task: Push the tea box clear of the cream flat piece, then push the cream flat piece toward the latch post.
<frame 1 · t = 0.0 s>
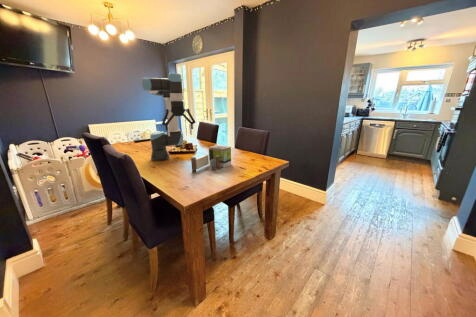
hand: (180, 135, 123), 28 cm above the table, fingers open, 13 cm apart
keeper: (213, 170, 141), on the table
cream flat piece: (202, 161, 144), point 5 cm above the table, hinge at 38.0°
hinge post: (194, 172, 137), on the table
latch post: (218, 168, 144), on the table
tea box: (220, 164, 153), on the table
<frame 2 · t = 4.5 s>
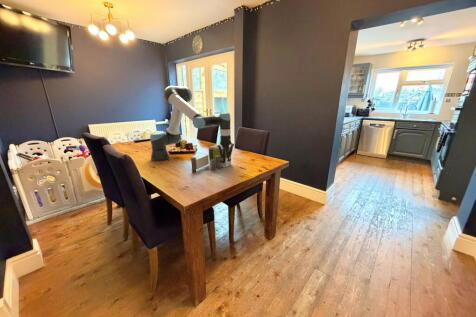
hand: (226, 165, 145), 2 cm above the table, fingers closed
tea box: (220, 164, 154), on the table, touching gripper
everything else where it was.
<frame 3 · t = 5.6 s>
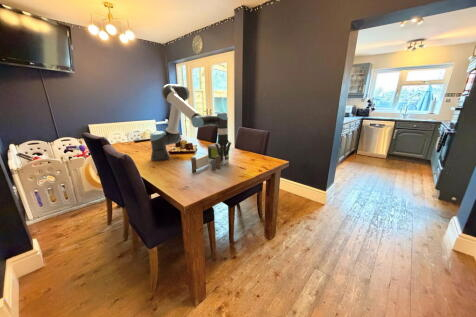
hand: (223, 163, 150), 2 cm above the table, fingers closed
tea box: (218, 162, 158), on the table, touching gripper
everything else where it was.
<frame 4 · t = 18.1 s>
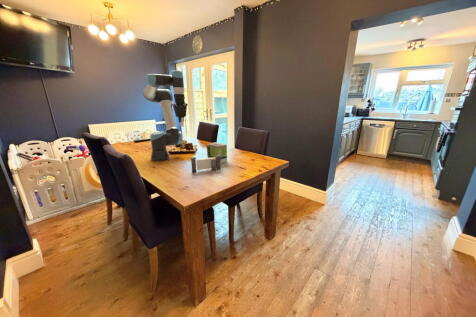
hand: (181, 126, 147), 30 cm above the table, fingers closed
cream flat piece: (206, 163, 139), point 5 cm above the table, hinge at -0.4°, touching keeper
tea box: (217, 161, 162), on the table
at the end: cream flat piece at +0° (first picture: +38°); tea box moved 10.0 cm from its start; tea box tilted 0° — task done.
